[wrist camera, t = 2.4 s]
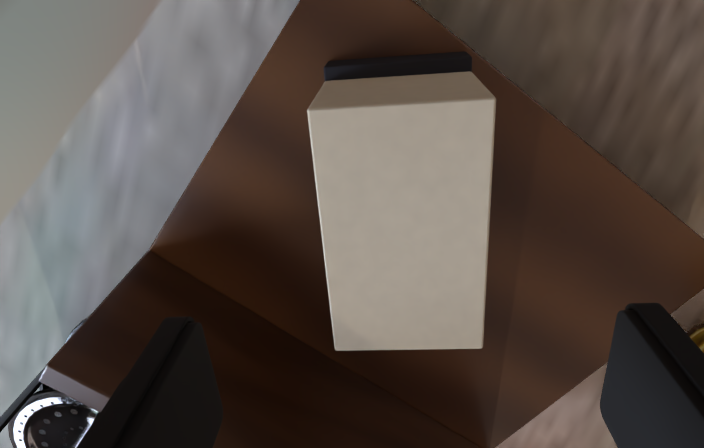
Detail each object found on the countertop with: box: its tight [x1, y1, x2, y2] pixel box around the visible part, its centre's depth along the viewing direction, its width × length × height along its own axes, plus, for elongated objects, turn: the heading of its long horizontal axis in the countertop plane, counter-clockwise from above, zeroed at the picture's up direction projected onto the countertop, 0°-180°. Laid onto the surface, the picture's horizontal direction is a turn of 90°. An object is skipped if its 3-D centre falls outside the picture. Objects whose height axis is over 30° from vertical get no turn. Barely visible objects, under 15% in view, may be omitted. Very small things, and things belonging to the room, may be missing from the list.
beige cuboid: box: [307, 51, 496, 351], centre depth 19 cm, size 12×5×6 cm, turn 4°
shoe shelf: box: [39, 0, 704, 448], centre depth 21 cm, size 17×22×12 cm
